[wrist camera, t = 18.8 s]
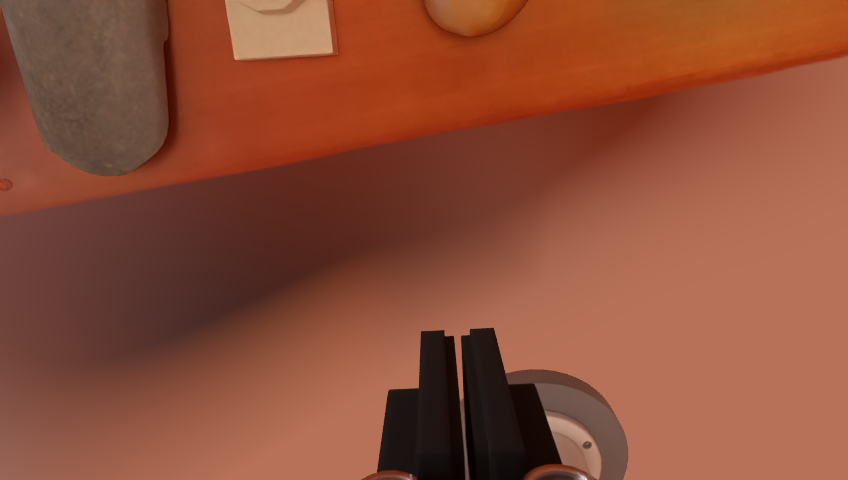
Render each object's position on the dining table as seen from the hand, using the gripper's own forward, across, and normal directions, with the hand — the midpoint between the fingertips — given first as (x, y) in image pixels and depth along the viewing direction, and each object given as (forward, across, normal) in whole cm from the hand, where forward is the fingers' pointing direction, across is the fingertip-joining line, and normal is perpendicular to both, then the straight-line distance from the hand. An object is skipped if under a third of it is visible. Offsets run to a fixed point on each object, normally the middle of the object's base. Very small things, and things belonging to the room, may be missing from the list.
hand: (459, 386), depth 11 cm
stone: (+25, +18, -13) cm, 34 cm away
